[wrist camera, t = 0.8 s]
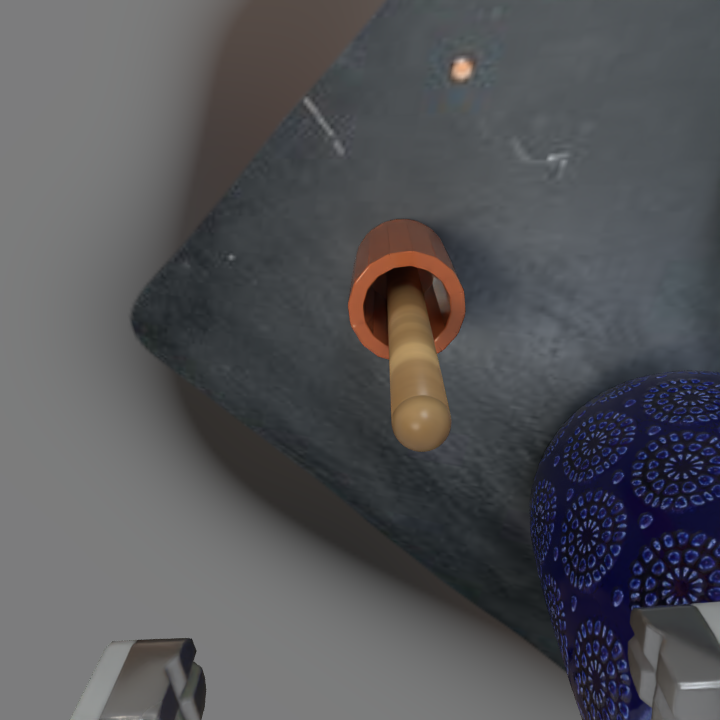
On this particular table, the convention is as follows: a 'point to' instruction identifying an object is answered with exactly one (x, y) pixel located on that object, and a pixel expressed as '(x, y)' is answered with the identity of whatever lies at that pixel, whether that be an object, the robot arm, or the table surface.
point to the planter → (627, 524)
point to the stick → (414, 366)
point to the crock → (437, 275)
